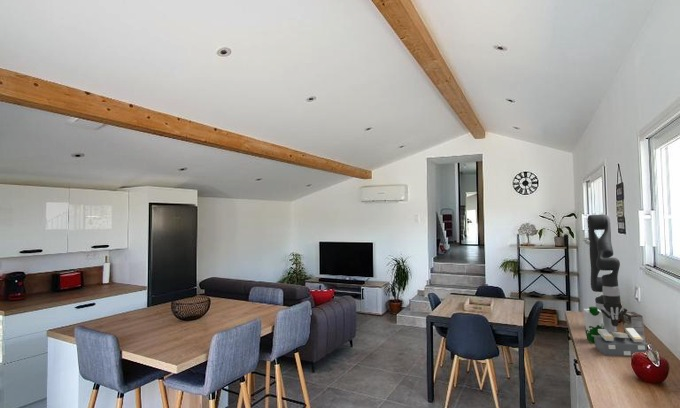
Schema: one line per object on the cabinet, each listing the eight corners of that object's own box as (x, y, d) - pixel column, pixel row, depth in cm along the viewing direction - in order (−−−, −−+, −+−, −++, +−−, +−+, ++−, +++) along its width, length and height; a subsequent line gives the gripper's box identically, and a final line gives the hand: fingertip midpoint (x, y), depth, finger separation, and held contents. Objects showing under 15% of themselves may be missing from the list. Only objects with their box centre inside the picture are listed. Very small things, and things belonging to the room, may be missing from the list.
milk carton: (589, 343, 212) (585, 308, 213) (584, 338, 220) (581, 304, 221) (607, 344, 209) (603, 308, 210) (602, 339, 217) (598, 304, 218)
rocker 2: (612, 335, 202) (611, 331, 202) (619, 335, 201) (619, 331, 201) (620, 337, 193) (619, 333, 193) (628, 337, 192) (627, 333, 192)
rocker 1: (597, 332, 204) (597, 328, 204) (605, 332, 203) (605, 328, 203) (605, 340, 194) (605, 337, 194) (613, 340, 194) (613, 337, 193)
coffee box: (624, 340, 214) (620, 311, 214) (636, 339, 212) (633, 311, 213) (633, 345, 205) (629, 315, 206) (646, 345, 203) (643, 315, 204)
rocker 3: (625, 330, 201) (625, 327, 200) (632, 330, 200) (633, 327, 199) (634, 342, 191) (634, 339, 191) (642, 342, 190) (642, 339, 190)
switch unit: (595, 347, 205) (593, 333, 206) (637, 347, 200) (635, 334, 201) (605, 355, 193) (603, 341, 193) (650, 356, 187) (648, 341, 188)
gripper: (622, 292, 204) (625, 324, 204) (594, 293, 208) (598, 324, 207) (628, 295, 197) (632, 328, 196) (600, 295, 201) (603, 328, 200)
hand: (614, 326), depth 202 cm, fingers closed
